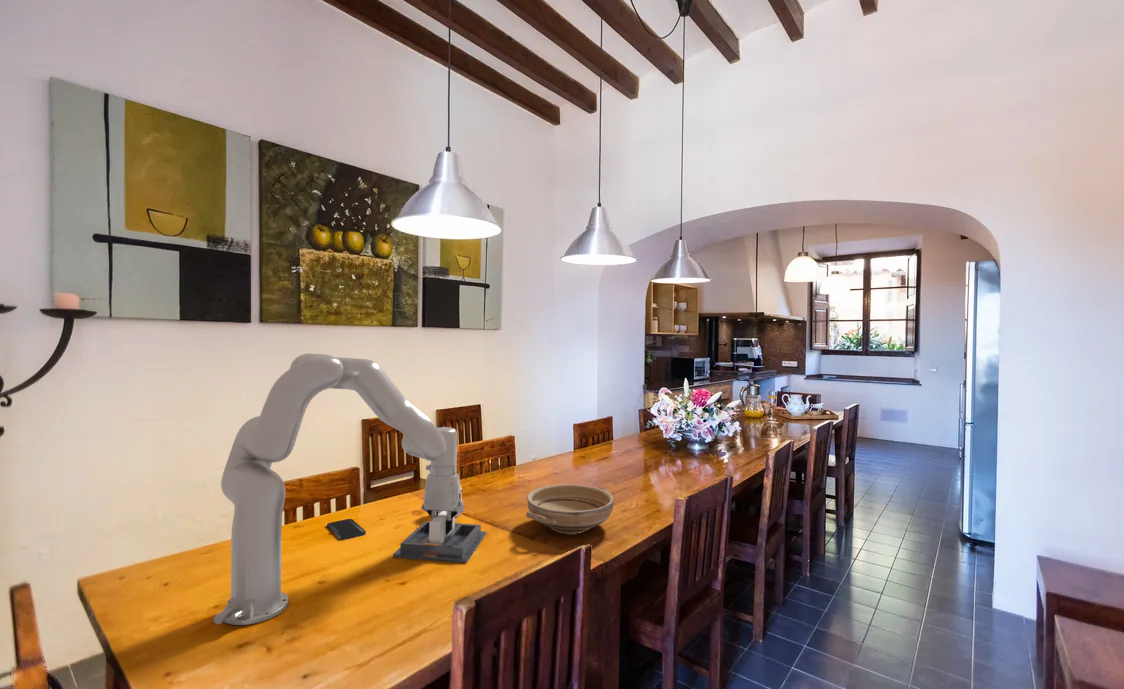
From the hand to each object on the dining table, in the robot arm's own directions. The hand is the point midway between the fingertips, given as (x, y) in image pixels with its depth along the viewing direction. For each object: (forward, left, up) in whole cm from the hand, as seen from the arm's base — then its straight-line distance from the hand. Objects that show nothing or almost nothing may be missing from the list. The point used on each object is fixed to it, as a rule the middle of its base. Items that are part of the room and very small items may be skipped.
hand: (442, 531), depth 147 cm
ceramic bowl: (+21, -35, -4) cm, 41 cm away
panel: (0, 0, -2) cm, 2 cm away
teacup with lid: (+24, +6, -4) cm, 25 cm away
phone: (+6, +34, -5) cm, 35 cm away
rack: (0, 0, -4) cm, 4 cm away
